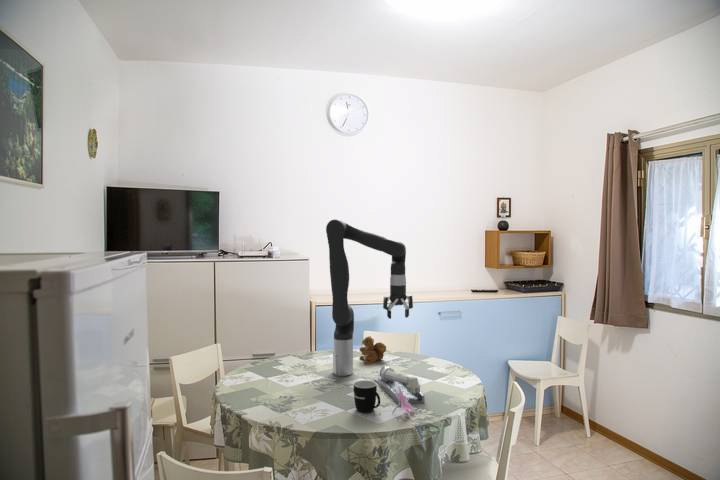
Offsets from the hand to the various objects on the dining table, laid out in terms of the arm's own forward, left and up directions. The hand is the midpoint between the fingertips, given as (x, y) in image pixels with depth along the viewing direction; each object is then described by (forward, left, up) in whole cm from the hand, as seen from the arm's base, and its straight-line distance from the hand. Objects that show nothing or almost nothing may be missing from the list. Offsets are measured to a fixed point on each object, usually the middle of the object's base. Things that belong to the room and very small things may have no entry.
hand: (398, 317), depth 215 cm
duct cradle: (-7, -18, -28) cm, 34 cm away
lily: (-14, -43, -28) cm, 53 cm away
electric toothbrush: (-7, -20, -26) cm, 33 cm away
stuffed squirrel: (-4, +29, -28) cm, 41 cm away
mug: (-26, -36, -28) cm, 53 cm away
